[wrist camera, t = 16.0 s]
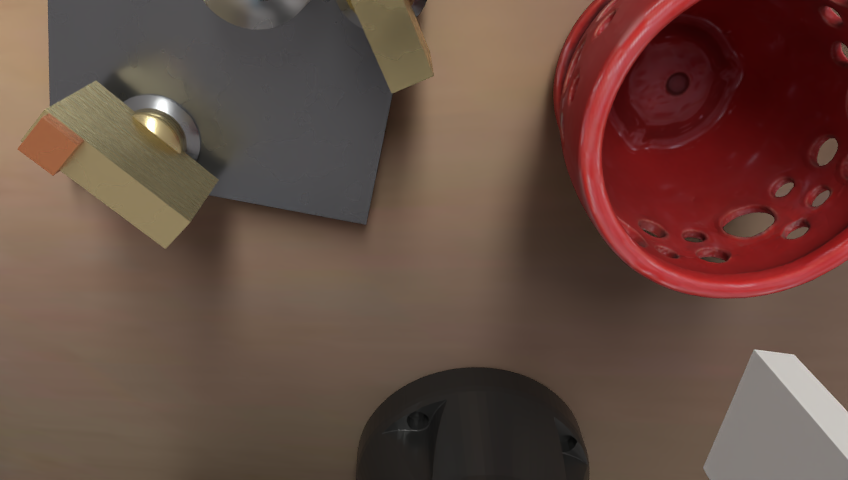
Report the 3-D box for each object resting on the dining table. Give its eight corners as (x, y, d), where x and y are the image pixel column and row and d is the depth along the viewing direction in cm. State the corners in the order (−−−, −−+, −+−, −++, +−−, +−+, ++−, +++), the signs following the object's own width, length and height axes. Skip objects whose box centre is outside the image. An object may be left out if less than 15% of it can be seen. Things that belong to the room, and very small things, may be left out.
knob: (230, 165, 34) (196, 217, 28) (192, 207, 35) (151, 265, 29) (110, 66, 32) (47, 101, 26) (72, 114, 33) (3, 157, 27)
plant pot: (833, -25, 33) (1040, 9, 22) (714, 215, 39) (834, 335, 28) (581, -104, 31) (674, -107, 21) (495, 160, 37) (532, 265, 26)
